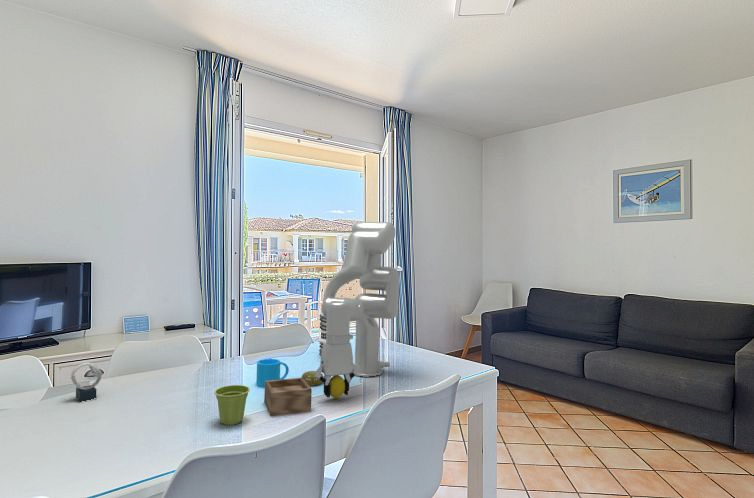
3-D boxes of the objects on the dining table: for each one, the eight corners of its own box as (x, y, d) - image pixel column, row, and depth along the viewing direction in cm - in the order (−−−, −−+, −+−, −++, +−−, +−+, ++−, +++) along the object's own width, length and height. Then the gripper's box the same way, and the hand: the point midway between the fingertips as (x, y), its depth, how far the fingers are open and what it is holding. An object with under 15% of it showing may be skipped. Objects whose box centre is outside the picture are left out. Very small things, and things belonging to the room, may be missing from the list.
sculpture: (321, 369, 159) (325, 375, 152) (321, 379, 159) (324, 386, 152) (300, 370, 157) (302, 376, 149) (300, 381, 157) (302, 387, 149)
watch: (103, 397, 134) (104, 362, 134) (72, 403, 129) (73, 367, 129) (98, 393, 138) (100, 359, 138) (68, 398, 132) (69, 363, 132)
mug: (262, 389, 146) (262, 365, 146) (252, 383, 152) (253, 360, 152) (293, 383, 154) (294, 361, 154) (283, 378, 160) (283, 356, 160)
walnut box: (301, 398, 139) (302, 377, 139) (311, 412, 128) (311, 388, 128) (264, 403, 134) (264, 380, 134) (270, 417, 123) (271, 393, 123)
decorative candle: (321, 354, 197) (322, 300, 197) (340, 355, 196) (342, 301, 196) (315, 359, 188) (317, 302, 188) (336, 360, 187) (337, 303, 187)
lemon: (328, 396, 141) (328, 372, 141) (344, 395, 141) (345, 372, 141) (327, 402, 135) (328, 377, 135) (344, 402, 136) (345, 377, 136)
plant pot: (214, 430, 113) (215, 397, 113) (212, 417, 122) (213, 386, 122) (250, 425, 117) (251, 393, 117) (246, 412, 125) (247, 383, 125)
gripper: (357, 335, 145) (356, 388, 146) (308, 339, 138) (307, 394, 138) (366, 339, 139) (365, 395, 139) (315, 344, 131) (314, 402, 131)
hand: (336, 394), depth 138 cm, fingers closed on lemon, 5 cm apart
